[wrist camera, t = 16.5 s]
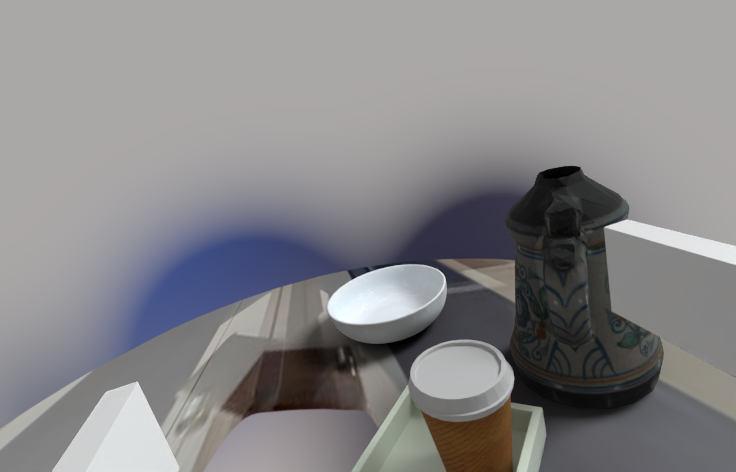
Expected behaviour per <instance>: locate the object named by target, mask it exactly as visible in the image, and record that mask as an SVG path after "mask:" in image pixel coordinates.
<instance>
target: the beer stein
mask: <svg viewBox="0 0 736 472" xmlns="http://www.w3.org/2000/svg"><path fill="white" fill-rule="evenodd" d="M628 214H629V205H628V203H627V202H626V201H625V200H624V199H623V198H621V196H620V195H619V194H617V193H616V192H614V191H612V190H610V189H608V188H606V187H604V186H603V185H601V184H599V183H597V182H595V181H594V180H592V179H590V178H588V177H587V176H585V175H584V174H583V172H582V170H581V168H580V167H577V166H564V167H558V168H553V169H548V170H545V171H543V172H540V173H539V174H538V175H537V178H536V181H535V184H534V186H533V187H532V188H531V189H530V190H529V191H528V192H527V193H526V194H525V195H524V196H523V197H522V198H521V199H520V200H519V201H518V202H517V203H516V204H515V205H514V206H513V207H512V208H511V210H510V211H509V213H508V214H507V216H506V219H505V224H506V227H507V230H508V232H509V235H510V236H511V237H512V238H513V239H514V240H515V302H516V318H515V327H514V331H513V333H512V337H511V340H510V351H511V355H512V358H513V359H514V361H515V363H516V365H517V367H518V371H519V374H520V375H521V377H522V378H523V379H524V381H525V382H526V384H527V385H528V387H530V388H531V389H533V390H534V391H536V392H537V393H539V394H540V395H542V396H543V397H545V398H546V399H548V400H551V401H555V402H559V403H563V404H566V405H570V406H574V407H578V408H597V409H607V408H612V407H617V406H622V405H626V404H631V403H634V402H636V401H637V400H639V399H641V398H642V397H644V396H645V395H647V394H648V393H650V392H651V391H653V389H654V387H655V385H656V383H657V380H658V378H659V374H660V370H661V366H662V361H663V354H664V352H663V346H662V342H661V340H660V337H659V336H657V335H655V334H653V333H651V332H650V331H648V330H646V329H644V328H642V327H640V326H638V325H636V324H635V323H633V322H631V321H629V320H627V319H625V318H623V317H621V316H620V315H618V314H616V313H614V312H612V309H611V299H610V288H609V277H608V267H607V256H606V245H605V235H604V227H606V226H609V225H612V224H615V223H618V222H621V221H624V220H627V219H628Z"/></svg>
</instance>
